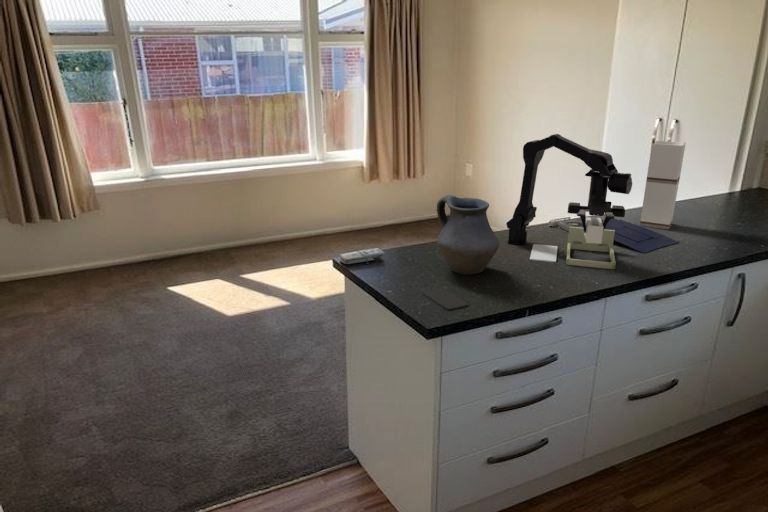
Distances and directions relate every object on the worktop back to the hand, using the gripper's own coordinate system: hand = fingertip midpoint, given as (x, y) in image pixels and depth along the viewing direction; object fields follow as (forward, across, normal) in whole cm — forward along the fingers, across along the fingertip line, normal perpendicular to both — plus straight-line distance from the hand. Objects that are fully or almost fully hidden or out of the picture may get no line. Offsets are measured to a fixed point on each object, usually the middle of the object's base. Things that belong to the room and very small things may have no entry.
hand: (593, 233), depth 204 cm
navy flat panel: (+10, +15, +30) cm, 34 cm away
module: (+2, 0, 0) cm, 2 cm away
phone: (+10, -42, -53) cm, 68 cm away
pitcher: (+10, -41, -26) cm, 50 cm away
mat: (+9, -16, 0) cm, 19 cm away
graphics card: (+10, -7, +36) cm, 38 cm away
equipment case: (+9, 0, 0) cm, 9 cm away
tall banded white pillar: (+10, +28, +55) cm, 62 cm away
